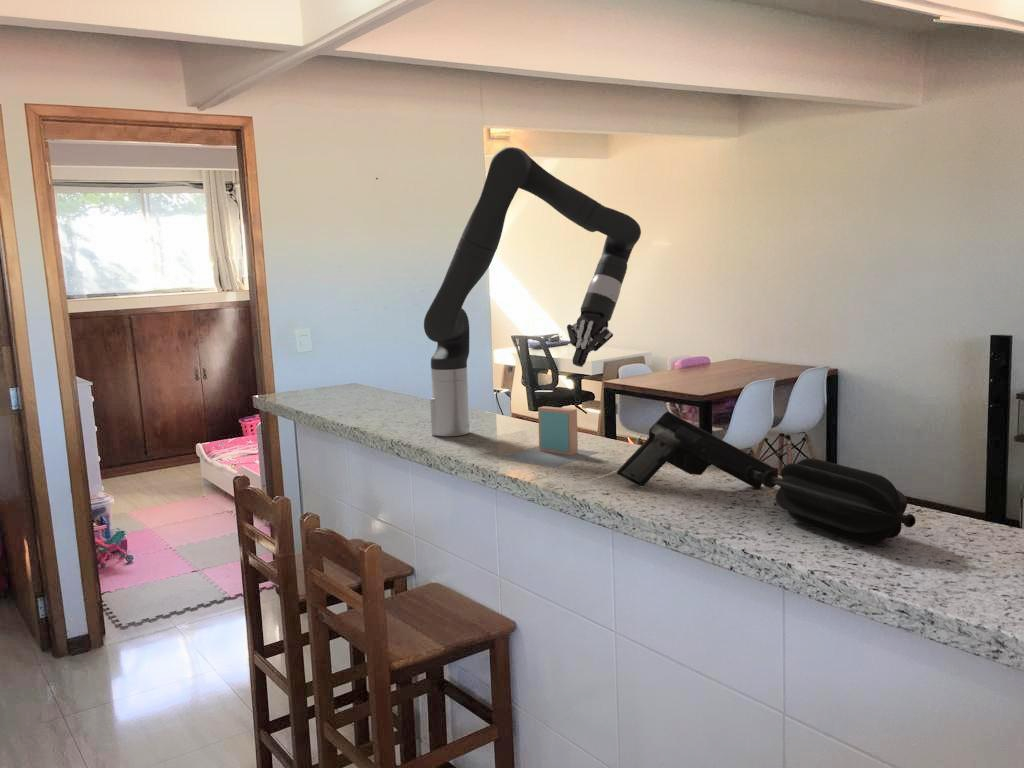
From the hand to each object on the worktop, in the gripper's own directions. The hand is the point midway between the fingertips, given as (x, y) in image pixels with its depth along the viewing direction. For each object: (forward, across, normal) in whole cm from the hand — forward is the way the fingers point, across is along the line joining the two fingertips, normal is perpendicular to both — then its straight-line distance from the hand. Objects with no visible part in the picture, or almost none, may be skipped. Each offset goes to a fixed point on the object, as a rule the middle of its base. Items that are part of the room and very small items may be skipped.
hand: (577, 365), depth 196 cm
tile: (+21, +3, 0) cm, 21 cm away
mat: (+23, +4, -3) cm, 23 cm away
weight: (+23, +71, -14) cm, 76 cm away
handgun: (+22, +43, -6) cm, 48 cm away
